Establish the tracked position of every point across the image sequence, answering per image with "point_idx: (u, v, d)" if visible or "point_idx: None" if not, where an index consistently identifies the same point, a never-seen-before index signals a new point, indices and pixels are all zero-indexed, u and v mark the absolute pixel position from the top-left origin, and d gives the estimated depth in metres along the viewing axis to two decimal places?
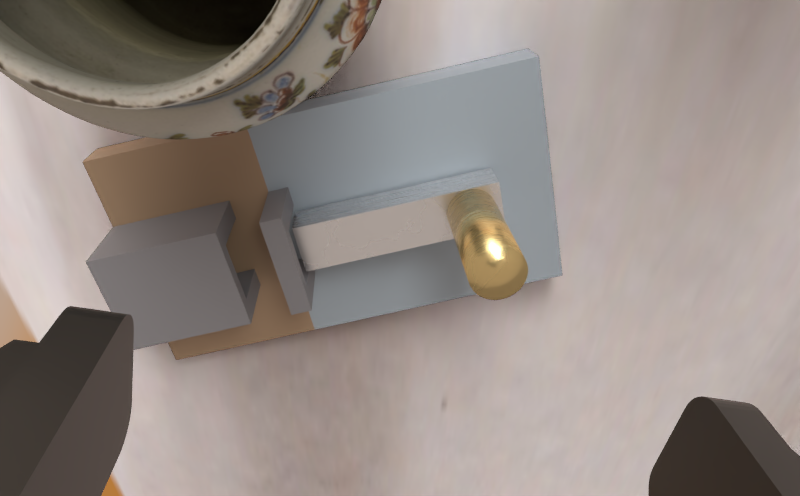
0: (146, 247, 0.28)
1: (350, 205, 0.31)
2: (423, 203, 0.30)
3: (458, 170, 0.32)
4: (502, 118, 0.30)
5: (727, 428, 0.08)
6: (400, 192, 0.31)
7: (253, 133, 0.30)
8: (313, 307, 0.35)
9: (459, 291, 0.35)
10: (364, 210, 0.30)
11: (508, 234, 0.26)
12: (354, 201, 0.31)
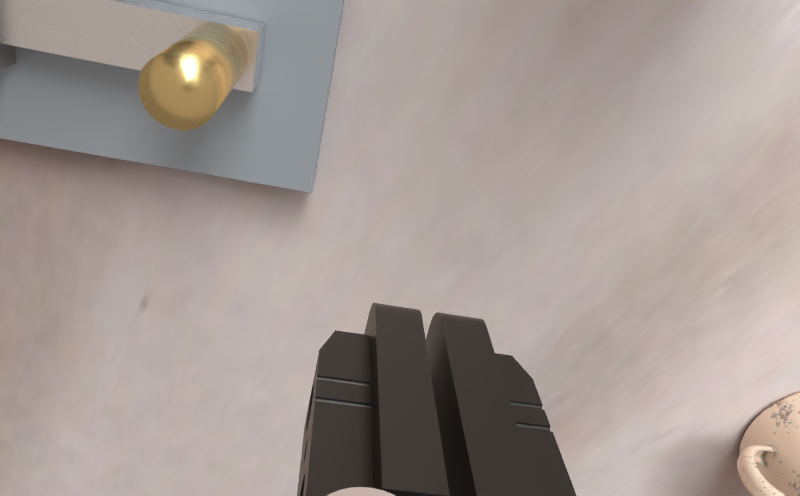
0: None
1: None
2: (160, 17, 0.24)
3: (228, 10, 0.26)
4: None
5: (442, 337, 0.09)
6: (146, 1, 0.25)
7: None
8: (2, 108, 0.27)
9: (189, 163, 0.29)
10: None
11: (217, 61, 0.21)
12: None
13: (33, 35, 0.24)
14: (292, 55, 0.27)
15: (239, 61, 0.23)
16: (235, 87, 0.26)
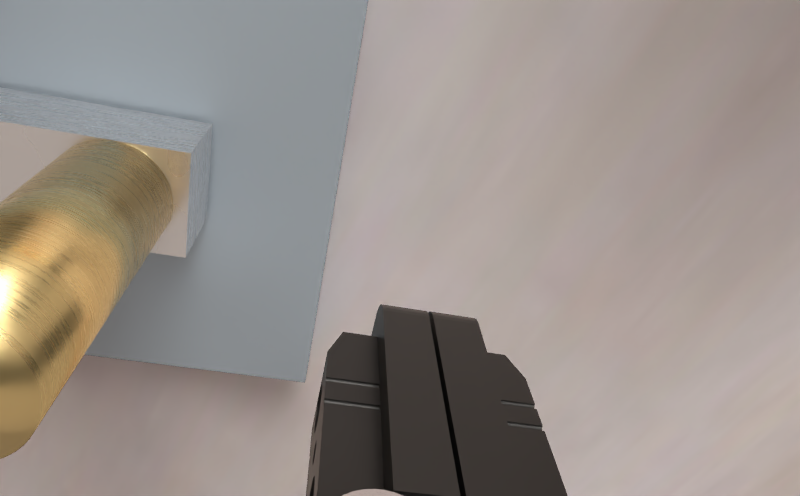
0: None
1: None
2: None
3: (143, 101, 0.14)
4: (264, 26, 0.14)
5: (435, 336, 0.09)
6: None
7: None
8: None
9: (97, 344, 0.17)
10: None
11: (58, 282, 0.09)
12: None
13: None
14: (264, 174, 0.15)
15: (142, 230, 0.11)
16: (153, 249, 0.14)
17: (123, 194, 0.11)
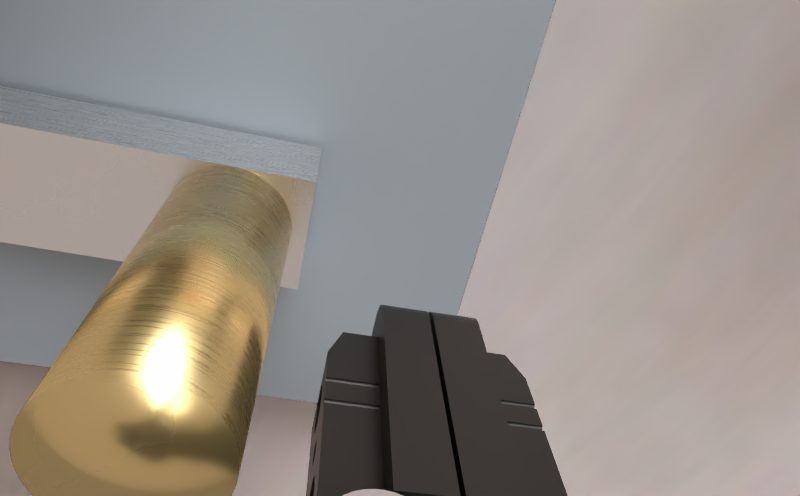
0: None
1: None
2: (112, 156, 0.11)
3: (300, 132, 0.14)
4: (435, 59, 0.13)
5: (435, 336, 0.09)
6: (87, 112, 0.12)
7: None
8: None
9: None
10: None
11: (237, 334, 0.08)
12: None
13: None
14: (413, 208, 0.15)
15: (280, 266, 0.11)
16: None
17: (262, 228, 0.10)
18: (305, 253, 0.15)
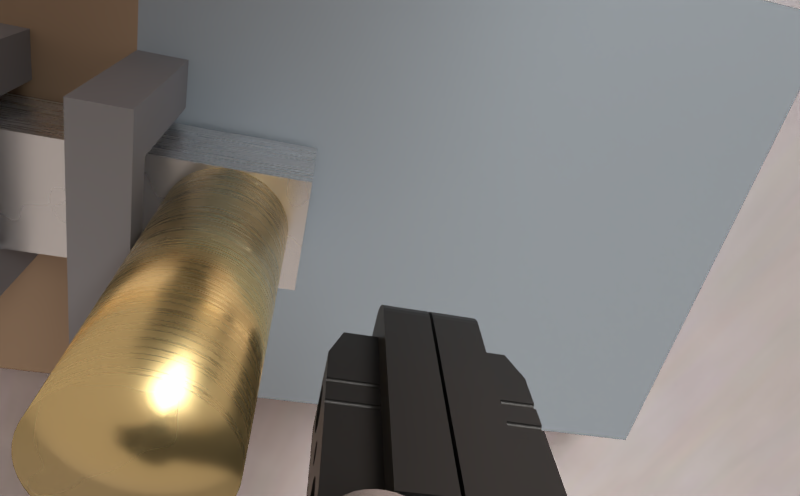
0: None
1: None
2: None
3: (561, 182, 0.15)
4: (696, 114, 0.14)
5: (434, 336, 0.09)
6: None
7: None
8: None
9: None
10: None
11: (238, 336, 0.08)
12: None
13: None
14: (651, 248, 0.16)
15: (278, 267, 0.11)
16: None
17: (259, 230, 0.10)
18: (545, 291, 0.16)
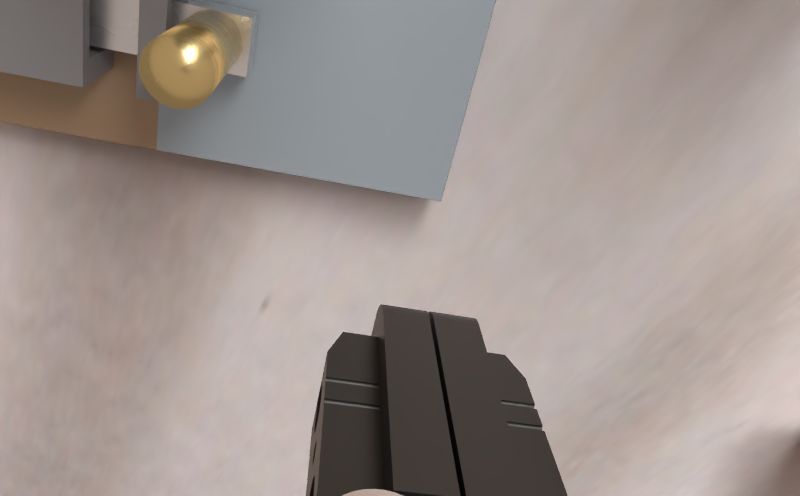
0: None
1: None
2: None
3: (383, 34, 0.28)
4: None
5: (435, 336, 0.09)
6: None
7: None
8: (164, 122, 0.29)
9: (331, 173, 0.31)
10: None
11: (214, 44, 0.22)
12: None
13: None
14: (437, 75, 0.29)
15: (234, 46, 0.24)
16: (230, 72, 0.27)
17: (226, 28, 0.24)
18: (382, 100, 0.30)
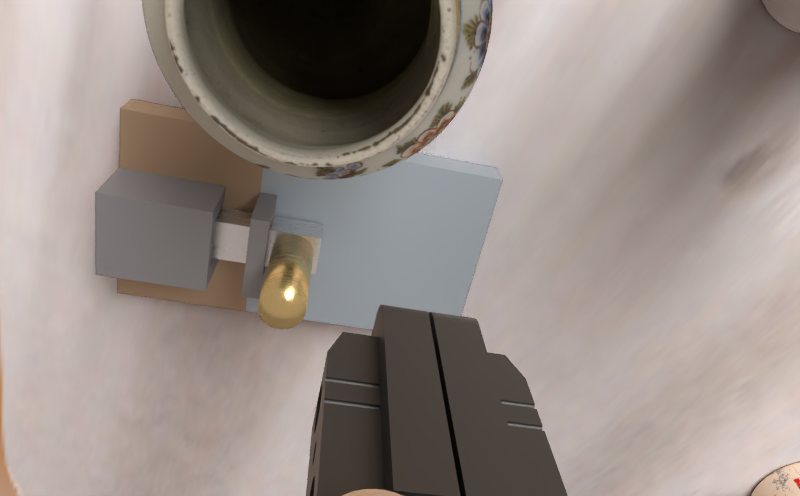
0: (151, 201, 0.33)
1: None
2: None
3: (411, 235, 0.39)
4: (458, 211, 0.39)
5: (435, 336, 0.09)
6: (244, 215, 0.37)
7: None
8: None
9: (372, 324, 0.42)
10: None
11: (303, 282, 0.33)
12: None
13: None
14: (450, 259, 0.40)
15: (311, 266, 0.35)
16: None
17: (306, 255, 0.35)
18: (410, 276, 0.41)
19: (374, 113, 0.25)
